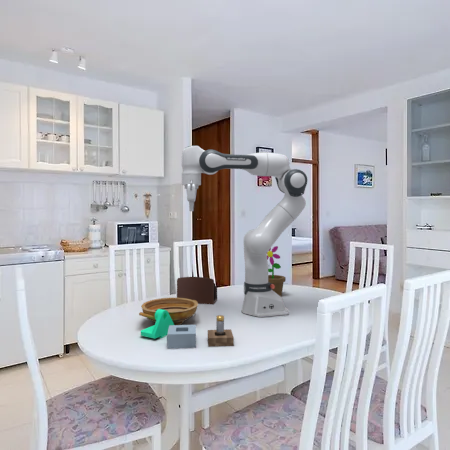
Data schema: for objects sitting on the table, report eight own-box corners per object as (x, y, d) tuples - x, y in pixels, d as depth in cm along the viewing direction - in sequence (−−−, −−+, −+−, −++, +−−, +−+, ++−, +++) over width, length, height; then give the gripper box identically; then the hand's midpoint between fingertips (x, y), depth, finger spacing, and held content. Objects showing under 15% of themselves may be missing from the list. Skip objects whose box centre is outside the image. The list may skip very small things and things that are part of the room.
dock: (195, 337, 140) (195, 324, 140) (195, 347, 130) (195, 333, 130) (169, 338, 140) (169, 325, 139) (167, 348, 130) (167, 334, 129)
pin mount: (231, 337, 141) (231, 329, 141) (233, 345, 132) (233, 337, 132) (207, 337, 140) (207, 330, 140) (208, 346, 131) (208, 338, 131)
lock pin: (223, 340, 138) (223, 315, 137) (224, 342, 135) (224, 317, 134) (216, 340, 137) (216, 315, 137) (216, 343, 135) (216, 317, 134)
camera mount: (159, 329, 151) (159, 304, 151) (174, 332, 147) (174, 306, 147) (139, 337, 141) (139, 311, 140) (154, 341, 137) (154, 314, 136)
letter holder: (213, 304, 189) (213, 277, 188) (176, 303, 192) (176, 276, 191) (217, 300, 198) (217, 274, 198) (181, 298, 202) (181, 273, 201)
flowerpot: (255, 295, 207) (256, 242, 206) (266, 291, 220) (267, 240, 218) (279, 299, 200) (279, 244, 198) (289, 293, 212) (289, 242, 211)
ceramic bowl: (159, 337, 140) (158, 317, 140) (124, 324, 157) (124, 305, 157) (214, 320, 162) (214, 302, 161) (178, 310, 178) (178, 293, 178)
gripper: (198, 179, 160) (198, 211, 161) (198, 182, 180) (198, 211, 181) (183, 179, 160) (184, 211, 160) (185, 182, 180) (185, 211, 181)
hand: (191, 211), depth 171 cm, fingers open, 8 cm apart
